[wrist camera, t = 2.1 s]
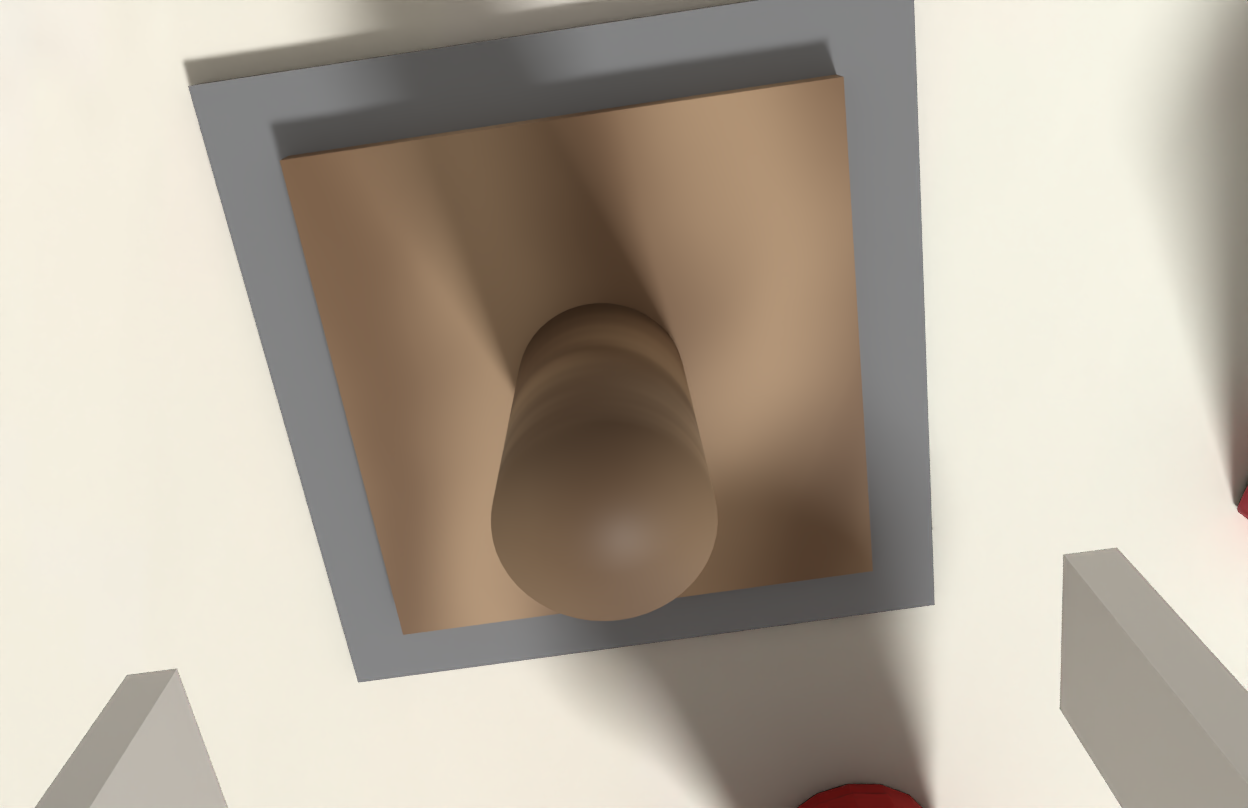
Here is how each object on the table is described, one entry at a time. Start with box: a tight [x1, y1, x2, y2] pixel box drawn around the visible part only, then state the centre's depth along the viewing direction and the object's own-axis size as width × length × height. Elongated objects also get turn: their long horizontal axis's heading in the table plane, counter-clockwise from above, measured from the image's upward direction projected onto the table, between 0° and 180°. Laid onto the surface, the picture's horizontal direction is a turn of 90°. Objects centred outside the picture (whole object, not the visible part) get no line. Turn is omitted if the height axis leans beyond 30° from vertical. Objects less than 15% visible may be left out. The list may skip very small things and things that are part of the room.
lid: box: [280, 74, 873, 635], centre depth 25 cm, size 14×14×9 cm
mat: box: [188, 0, 934, 682], centre depth 29 cm, size 18×18×1 cm
